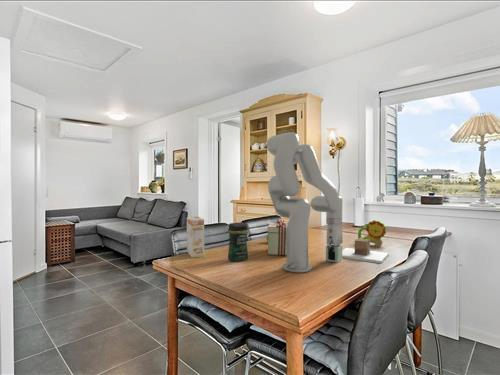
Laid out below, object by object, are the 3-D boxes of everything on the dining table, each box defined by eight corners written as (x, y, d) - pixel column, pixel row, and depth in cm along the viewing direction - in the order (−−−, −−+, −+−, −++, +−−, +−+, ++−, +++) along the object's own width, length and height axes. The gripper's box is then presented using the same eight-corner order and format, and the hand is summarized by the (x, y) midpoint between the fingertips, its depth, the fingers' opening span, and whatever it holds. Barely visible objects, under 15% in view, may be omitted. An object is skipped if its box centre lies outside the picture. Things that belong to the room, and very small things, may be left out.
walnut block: (366, 255, 145) (366, 241, 145) (354, 253, 148) (354, 240, 148) (369, 253, 150) (369, 239, 150) (357, 251, 153) (357, 238, 153)
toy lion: (357, 244, 177) (357, 219, 176) (359, 242, 181) (359, 218, 181) (385, 247, 168) (385, 221, 168) (386, 245, 173) (386, 220, 172)
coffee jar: (232, 263, 138) (232, 224, 138) (226, 259, 145) (225, 222, 145) (250, 260, 143) (250, 222, 143) (243, 256, 150) (242, 220, 150)
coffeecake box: (205, 256, 151) (204, 219, 150) (191, 258, 148) (190, 220, 148) (199, 250, 165) (198, 216, 164) (186, 251, 162) (186, 216, 162)
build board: (381, 263, 135) (381, 260, 135) (335, 256, 148) (335, 254, 148) (388, 255, 150) (388, 252, 150) (346, 249, 163) (346, 247, 163)
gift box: (303, 255, 151) (303, 222, 151) (267, 255, 151) (267, 223, 151) (298, 248, 168) (298, 218, 168) (266, 248, 168) (266, 218, 168)
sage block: (338, 262, 137) (338, 247, 137) (325, 260, 140) (325, 246, 140) (342, 259, 142) (342, 245, 142) (330, 258, 145) (330, 244, 145)
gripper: (335, 224, 132) (335, 263, 132) (347, 220, 146) (347, 255, 146) (320, 222, 136) (319, 261, 136) (332, 219, 150) (332, 253, 150)
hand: (334, 257), depth 141 cm, fingers closed on sage block, 6 cm apart
